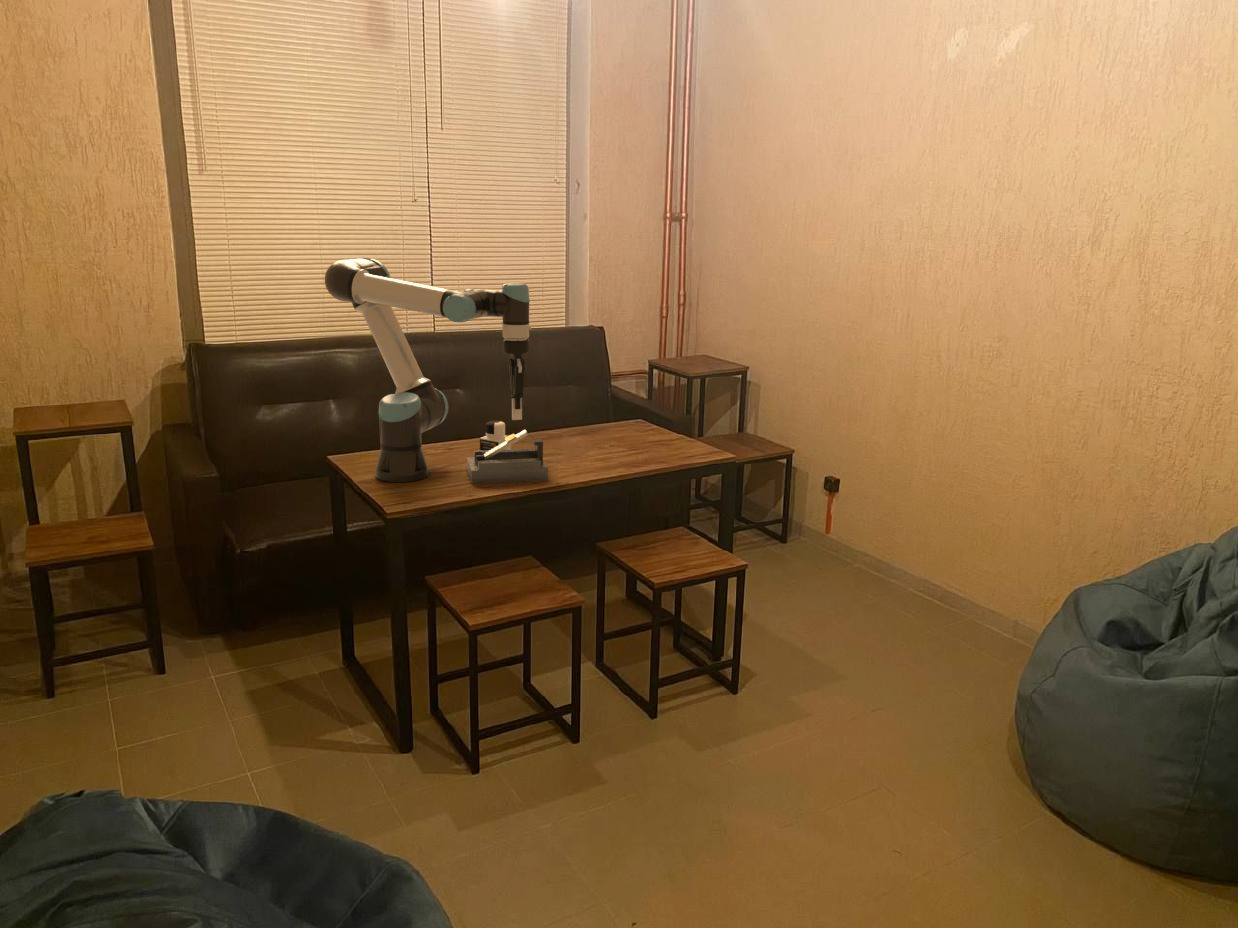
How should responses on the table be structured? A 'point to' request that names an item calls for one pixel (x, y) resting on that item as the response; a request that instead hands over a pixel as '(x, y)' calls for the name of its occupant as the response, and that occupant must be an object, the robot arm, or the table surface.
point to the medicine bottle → (493, 435)
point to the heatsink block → (509, 465)
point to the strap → (506, 443)
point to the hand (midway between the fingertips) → (517, 419)
